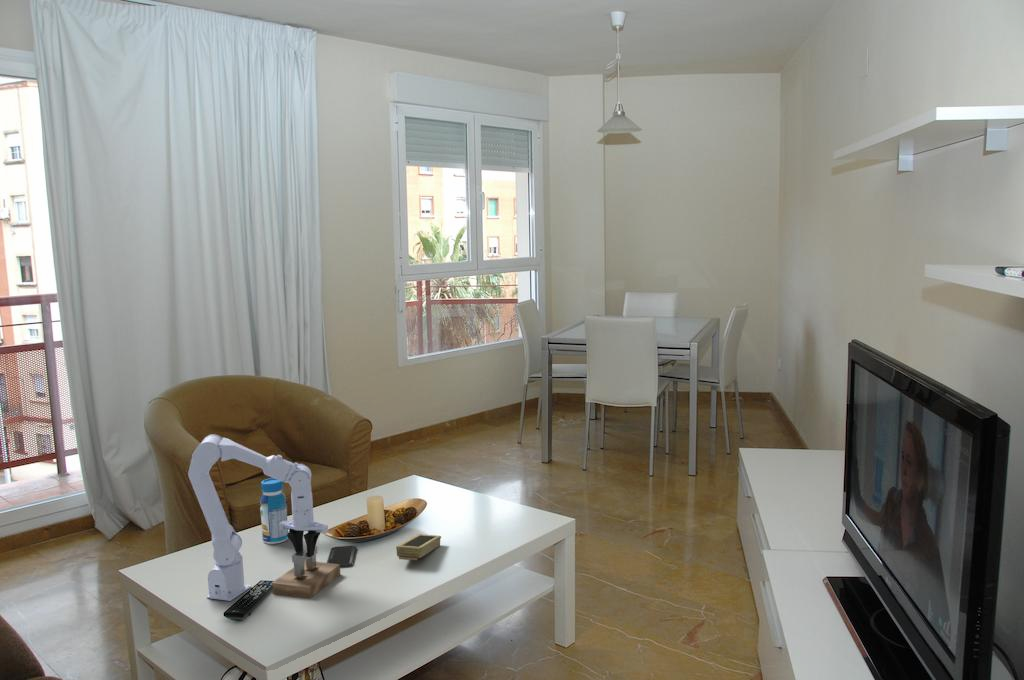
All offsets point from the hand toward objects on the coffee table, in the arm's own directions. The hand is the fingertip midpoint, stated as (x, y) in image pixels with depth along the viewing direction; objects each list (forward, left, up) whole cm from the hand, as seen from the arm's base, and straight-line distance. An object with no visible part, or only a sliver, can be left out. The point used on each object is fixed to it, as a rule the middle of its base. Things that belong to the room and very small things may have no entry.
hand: (305, 555), depth 223 cm
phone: (+19, 0, -9) cm, 21 cm away
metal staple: (0, 0, -4) cm, 5 cm away
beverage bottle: (+27, +29, -8) cm, 41 cm away
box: (+28, -22, -9) cm, 37 cm away
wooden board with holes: (0, 0, -8) cm, 8 cm away
